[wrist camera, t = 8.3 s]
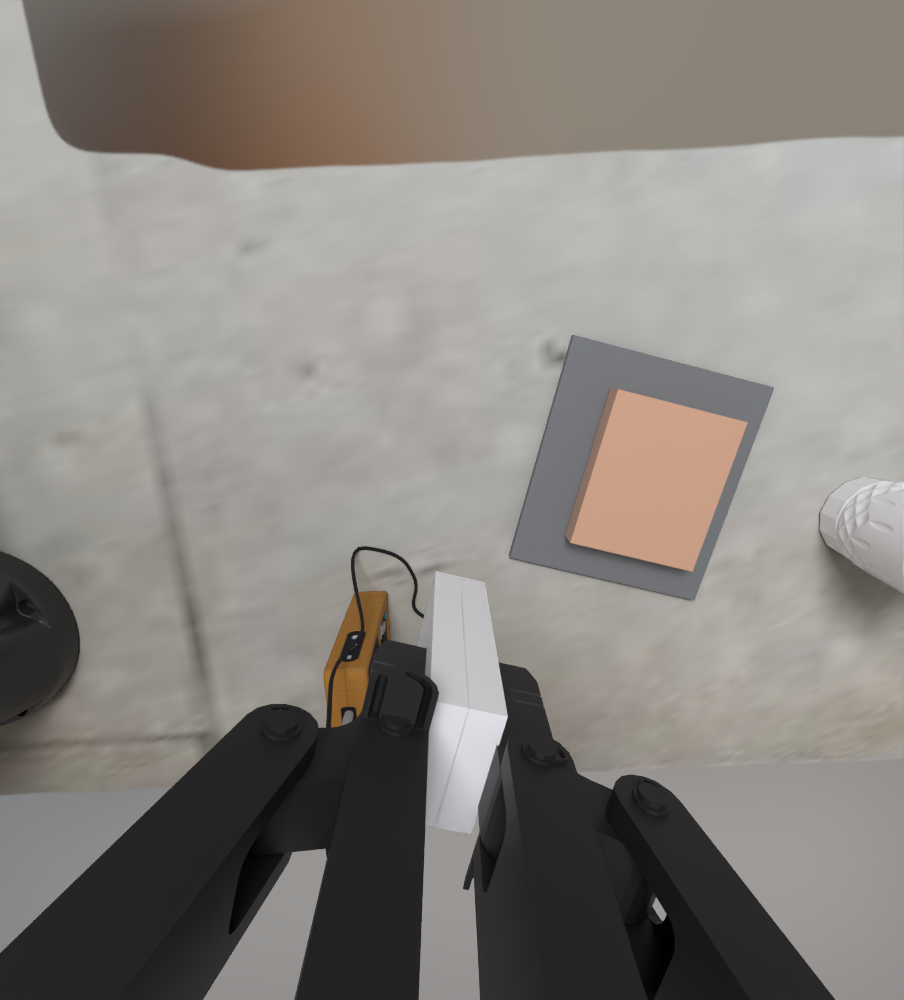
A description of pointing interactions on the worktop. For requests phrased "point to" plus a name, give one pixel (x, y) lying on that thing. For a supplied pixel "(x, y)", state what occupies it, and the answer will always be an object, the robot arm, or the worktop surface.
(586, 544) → the tile
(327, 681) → the multimeter
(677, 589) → the mat
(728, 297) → the worktop surface
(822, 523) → the white cup
